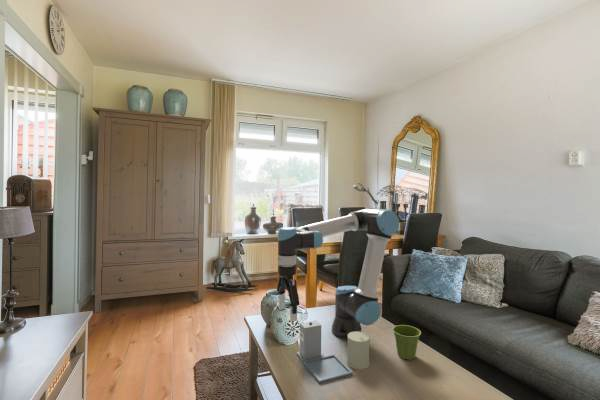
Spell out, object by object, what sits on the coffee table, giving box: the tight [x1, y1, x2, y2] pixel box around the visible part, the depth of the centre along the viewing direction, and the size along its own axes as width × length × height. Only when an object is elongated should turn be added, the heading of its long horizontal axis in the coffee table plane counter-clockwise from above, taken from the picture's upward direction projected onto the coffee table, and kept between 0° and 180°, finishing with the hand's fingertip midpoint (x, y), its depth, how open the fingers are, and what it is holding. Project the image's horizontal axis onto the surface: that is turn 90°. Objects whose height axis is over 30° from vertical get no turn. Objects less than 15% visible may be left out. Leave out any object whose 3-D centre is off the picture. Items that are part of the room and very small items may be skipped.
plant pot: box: [392, 324, 422, 361], centre depth 138 cm, size 12×12×11 cm
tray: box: [303, 353, 354, 384], centre depth 127 cm, size 15×15×1 cm
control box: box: [296, 320, 325, 363], centre depth 137 cm, size 10×7×15 cm
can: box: [346, 331, 370, 370], centre depth 131 cm, size 9×9×12 cm
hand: (287, 314), depth 132 cm, fingers open, 13 cm apart
